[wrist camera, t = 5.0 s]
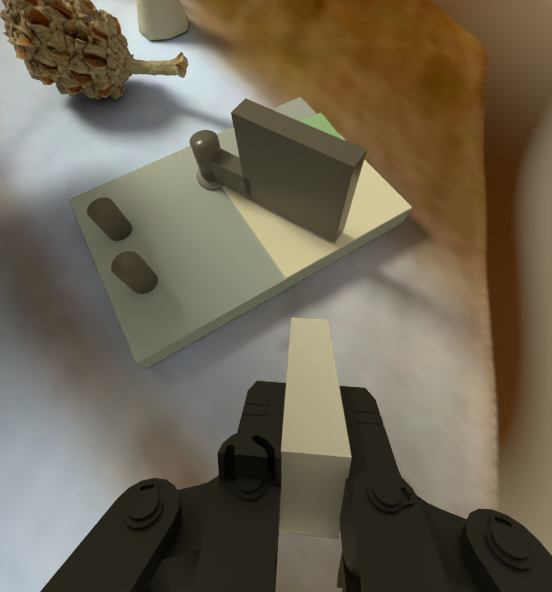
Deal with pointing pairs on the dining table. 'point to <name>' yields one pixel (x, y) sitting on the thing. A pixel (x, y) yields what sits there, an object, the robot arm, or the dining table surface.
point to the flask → (161, 18)
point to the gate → (285, 167)
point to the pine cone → (77, 47)
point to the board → (209, 244)
